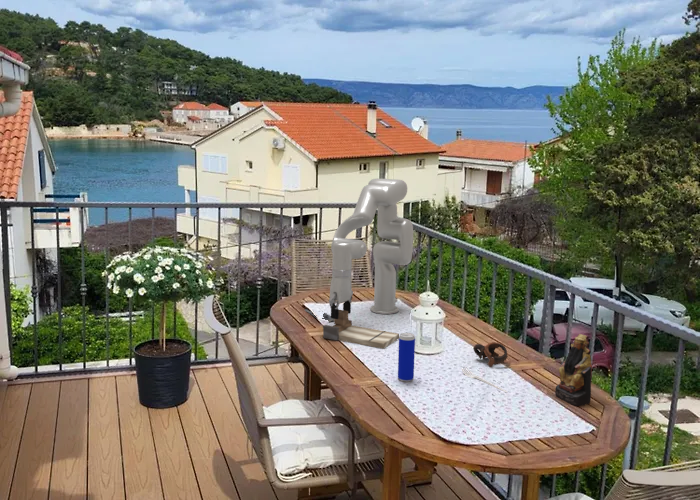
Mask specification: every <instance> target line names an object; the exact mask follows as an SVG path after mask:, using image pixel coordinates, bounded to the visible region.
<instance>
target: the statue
mask: <svg viewBox="0 0 700 500" xmlns="http://www.w3.org/2000/svg"><path fill="white" fill-rule="evenodd" d="M589 339H590V338H589V336H588V335H585V334H582V333H578V335H577V336H575V337H574V341H573V343H571V344H570V347H571V348H570V350H569V353H568V354H567V357H566V358H565V360H564V361H562V362H561V363H560V367H559V368H558V373H559V377H560V378H559V381H560V382H559V384H557V385H556V386H555V392H554V393H555V397H557V398H559V399H560V400H562V401H564V402H565V403H568V404H570V405H572V406H575V407H581V406H586V405H585V404H588V405H590V404H589V403H591V400H592V375H593V373H592V372H593V365H592V358H591V352H592V351H591V350H590V349H589V346H590V342H589Z"/></svg>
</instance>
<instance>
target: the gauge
mask: <svg viewBox="0 0 700 500" xmlns="http://www.w3.org/2000/svg"><path fill="white" fill-rule="evenodd" d="M333 322H334V325H328V324H324V325H323V327H322V331H323V332H322V338H323V339H329V340H332V341H339V340H338V339H339V332H340V331H342V330H344V329H346V328H348V327H350V326H351V325H353V322H352V320H351V319H350V318H349V314H348V311H345V310H343V309H339V319H334V321H333Z"/></svg>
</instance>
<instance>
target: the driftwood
mask: <svg viewBox="0 0 700 500" xmlns="http://www.w3.org/2000/svg"><path fill="white" fill-rule="evenodd" d="M304 311H305V312H307V313H308V314H310V315H311V316H313V317H314V318H316V317H315V316H314V314H315V313H313V312H311V310H308V309H307V308H306V309H304ZM312 313H313V314H312ZM323 317H324V318H322V319H325V320H328V321H329V323H330V322H332V321H333V322H334V319H333V318H331V314H330V315H329V314H327V313H326V312H324V314H323Z"/></svg>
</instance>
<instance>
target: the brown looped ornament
mask: <svg viewBox="0 0 700 500" xmlns="http://www.w3.org/2000/svg"><path fill="white" fill-rule="evenodd" d="M498 348H500V349H501V350H502V351H503V352H504V353H503V354H502V355H500V354H499V352H498V353H497V352H496V351H495V350H496V349H498ZM473 352H474V353H475V355H476V356H478V357H479V360H481V359H482V360H484V359H485V358H487V359H488V362H487V366H489V367H491V368H493V366H494V365H496V366H497V365H500V364H503V363H504V362H505V361H507V359H508V351H507V348H506V347H505V346H504V345H503V344H501V343H499V342H489V343H487V344H486V345H482V344H481V343H477V344H475V345H474V346H473Z"/></svg>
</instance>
